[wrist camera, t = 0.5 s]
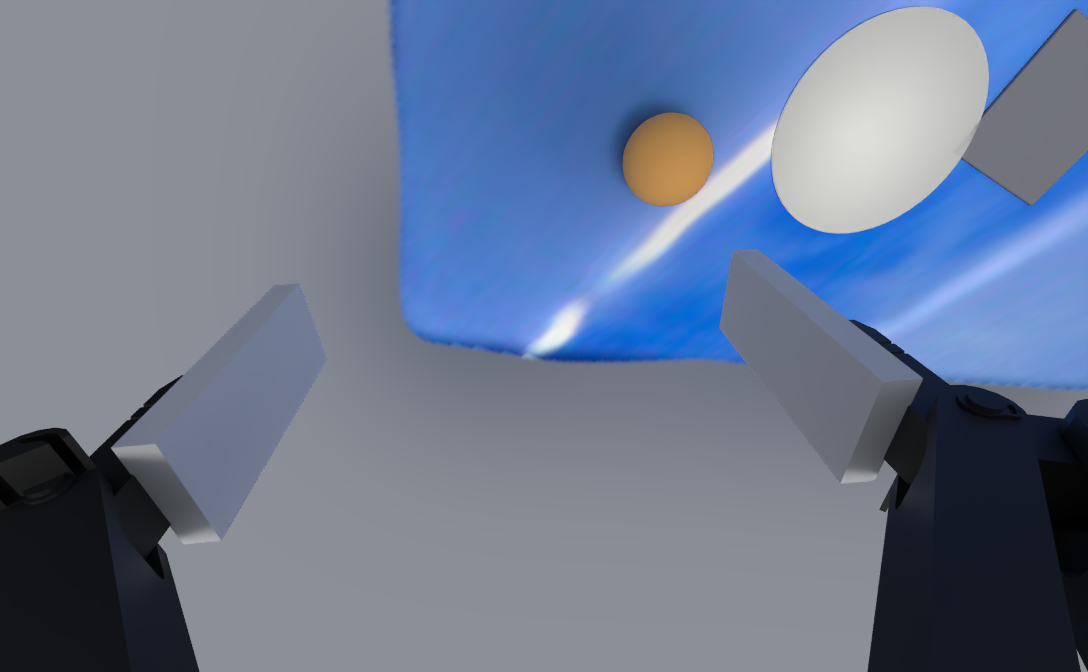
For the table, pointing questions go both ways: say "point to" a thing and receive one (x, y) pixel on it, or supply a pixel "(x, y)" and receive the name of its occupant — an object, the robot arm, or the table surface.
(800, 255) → the table surface
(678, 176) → the ball
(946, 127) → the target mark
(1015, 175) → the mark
